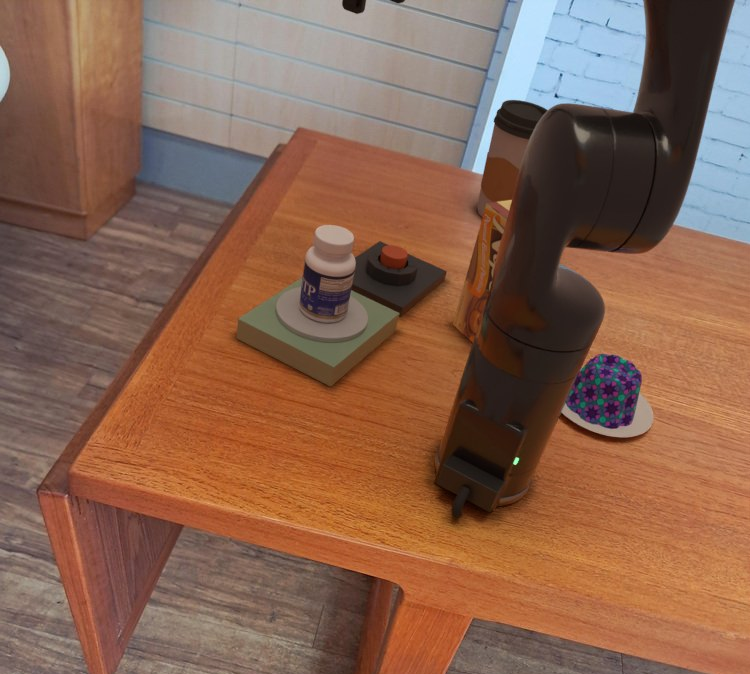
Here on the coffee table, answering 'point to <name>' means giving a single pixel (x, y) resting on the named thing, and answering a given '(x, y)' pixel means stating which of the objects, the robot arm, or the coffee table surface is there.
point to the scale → (316, 333)
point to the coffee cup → (507, 150)
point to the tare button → (393, 257)
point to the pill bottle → (328, 275)
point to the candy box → (481, 268)
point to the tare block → (394, 280)
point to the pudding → (609, 398)
